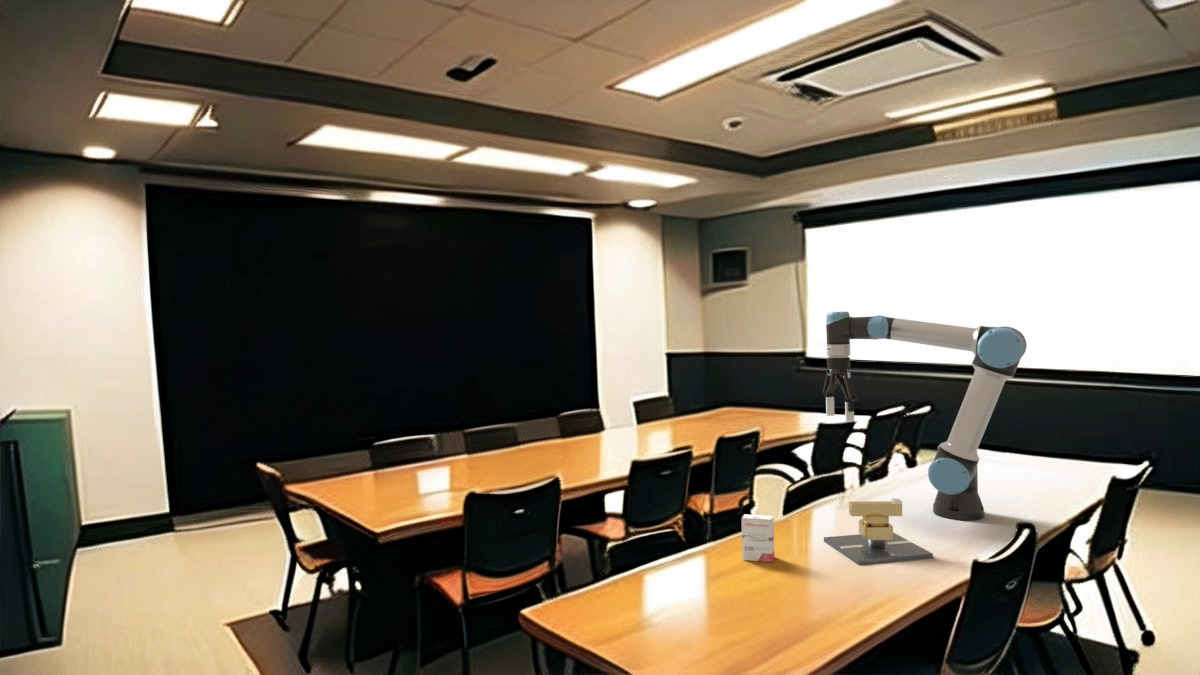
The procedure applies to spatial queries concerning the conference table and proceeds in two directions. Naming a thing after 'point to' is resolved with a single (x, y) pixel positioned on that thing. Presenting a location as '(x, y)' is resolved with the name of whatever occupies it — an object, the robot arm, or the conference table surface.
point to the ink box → (758, 538)
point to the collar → (876, 517)
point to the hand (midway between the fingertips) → (839, 418)
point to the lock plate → (877, 549)
